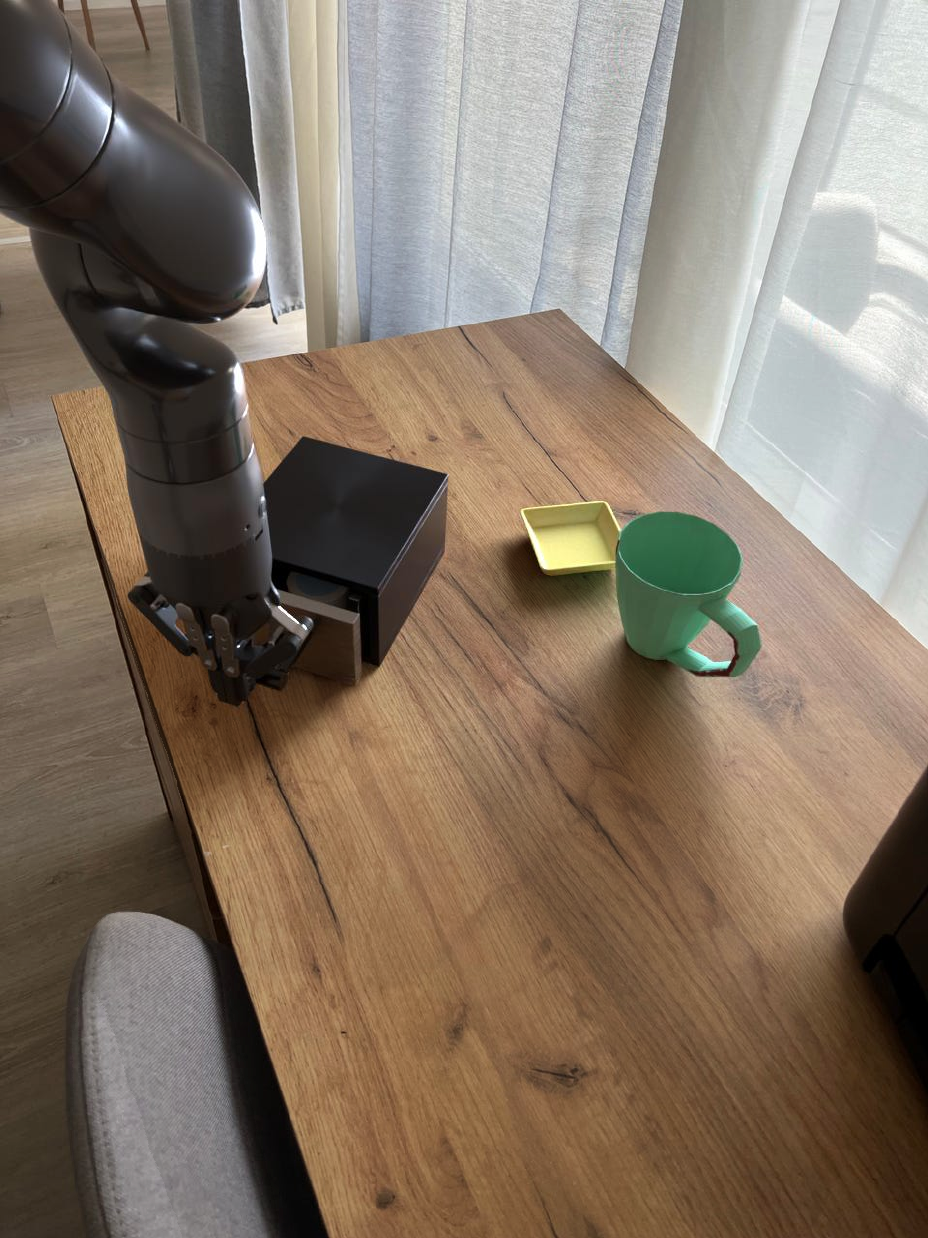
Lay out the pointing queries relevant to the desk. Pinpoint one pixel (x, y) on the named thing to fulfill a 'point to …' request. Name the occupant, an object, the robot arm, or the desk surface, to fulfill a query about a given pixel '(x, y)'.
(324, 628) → the drawer
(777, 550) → the desk surface
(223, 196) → the robot arm
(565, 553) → the yellow square dish
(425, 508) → the black box
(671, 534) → the mug
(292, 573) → the button
